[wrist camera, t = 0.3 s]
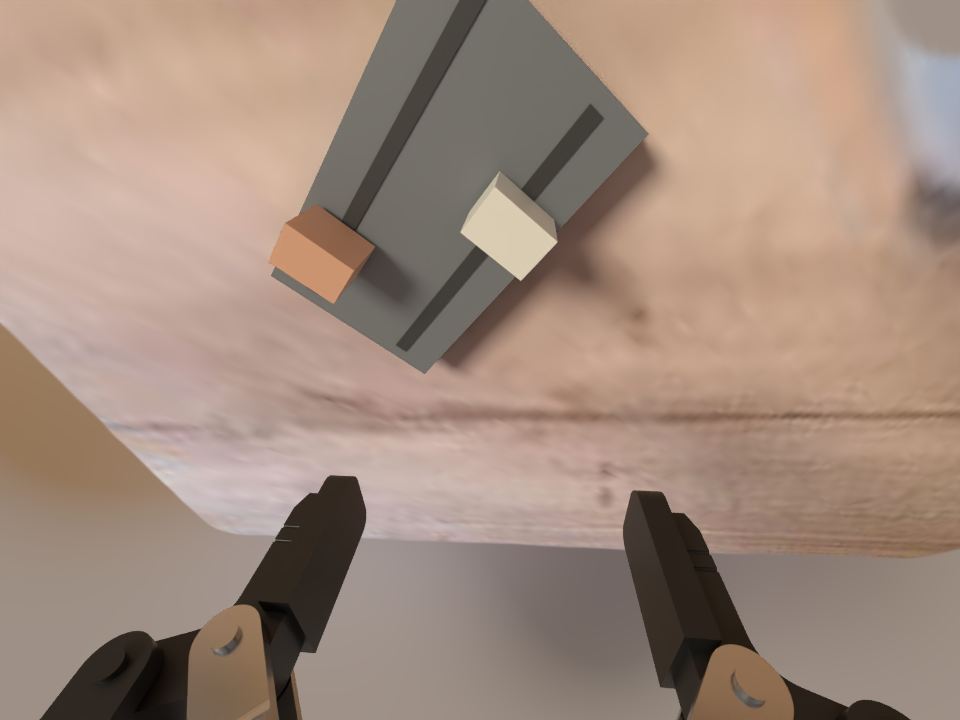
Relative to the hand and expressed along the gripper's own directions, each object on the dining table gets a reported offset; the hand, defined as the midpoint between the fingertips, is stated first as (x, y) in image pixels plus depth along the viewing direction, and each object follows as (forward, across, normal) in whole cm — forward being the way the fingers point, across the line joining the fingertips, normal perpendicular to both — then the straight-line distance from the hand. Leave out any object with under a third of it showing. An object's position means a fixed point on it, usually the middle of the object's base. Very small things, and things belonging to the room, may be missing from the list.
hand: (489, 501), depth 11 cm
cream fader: (+18, 0, -5) cm, 18 cm away
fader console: (+21, +5, -5) cm, 22 cm away
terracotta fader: (+18, +12, -3) cm, 22 cm away
